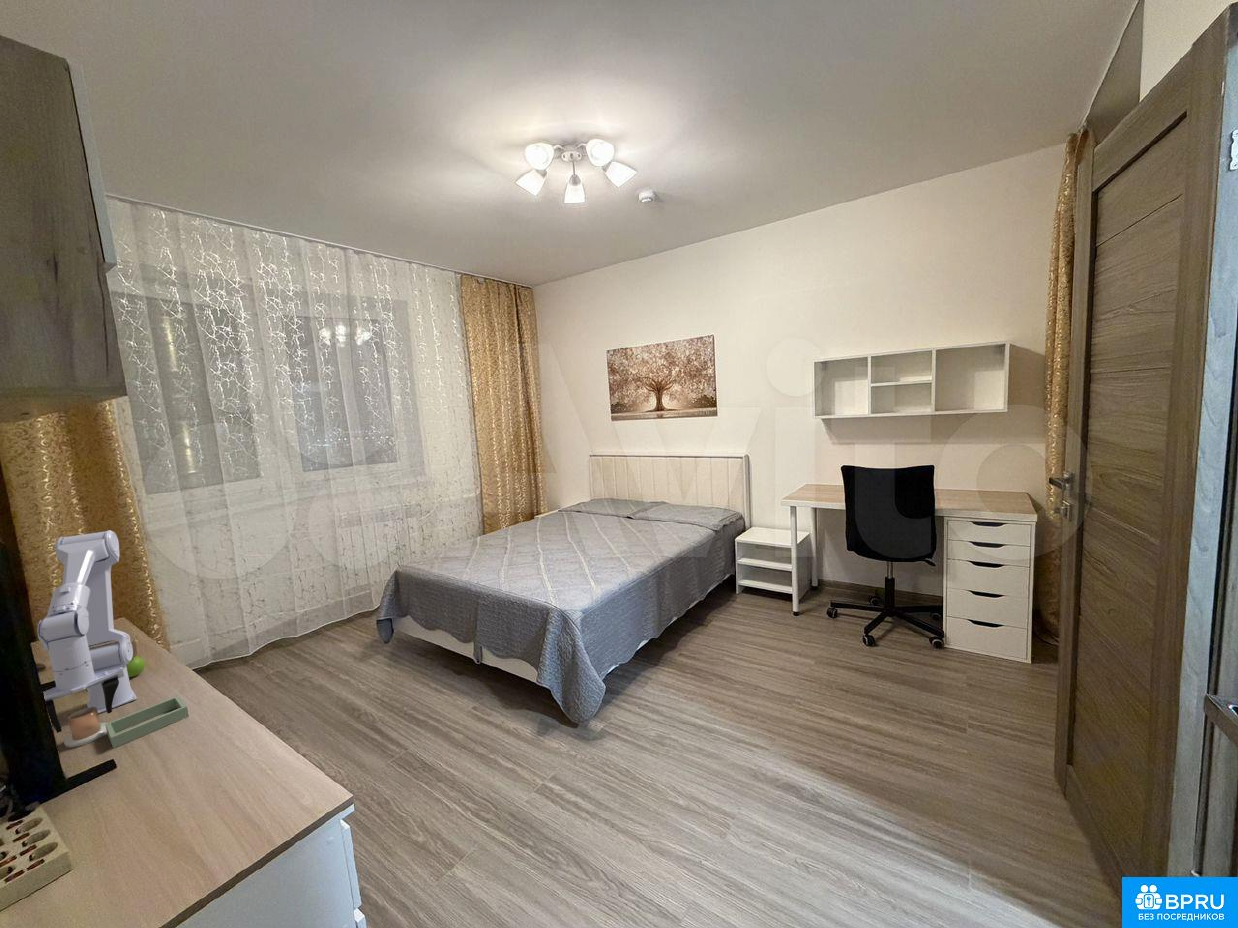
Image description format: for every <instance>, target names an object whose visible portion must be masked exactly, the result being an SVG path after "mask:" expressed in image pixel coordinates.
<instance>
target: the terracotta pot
mask: <svg viewBox="0 0 1238 928" xmlns="http://www.w3.org/2000/svg"><path fill="white" fill-rule="evenodd" d="M67 720H68V721H67V722H68V725H69V729H70V735H71V734H72V739H73V740H80V739H84V738H87V737H89V736H92V735H94V734H95V733H97V732H98V731H100V730H101V725H100V723H101V721H100V716H99V713H98V711H97V708H96V707H90V708H88V707H87V708H82V709H80V710H78V711H75V712H73V713H72V714H70V715H68V717H67Z"/></svg>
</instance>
